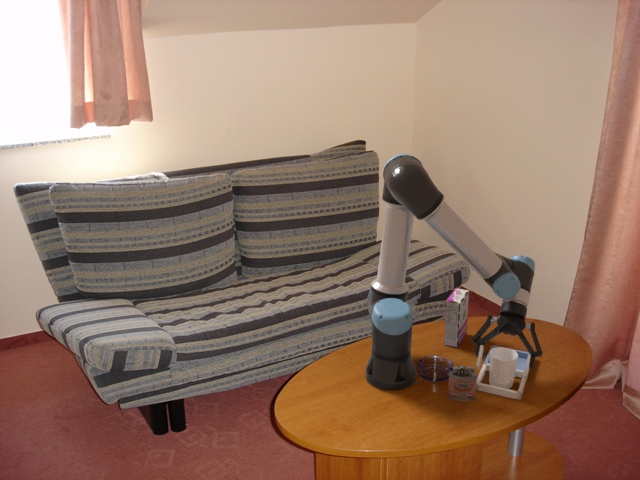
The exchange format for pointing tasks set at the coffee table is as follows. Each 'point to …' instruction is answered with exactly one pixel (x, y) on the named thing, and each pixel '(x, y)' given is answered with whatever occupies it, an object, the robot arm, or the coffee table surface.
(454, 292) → the candy bar box
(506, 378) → the white cup
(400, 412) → the coffee table surface
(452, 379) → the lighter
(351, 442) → the coffee table surface
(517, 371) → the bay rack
